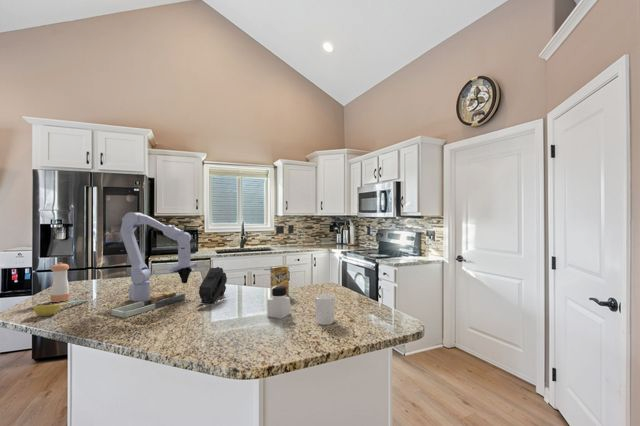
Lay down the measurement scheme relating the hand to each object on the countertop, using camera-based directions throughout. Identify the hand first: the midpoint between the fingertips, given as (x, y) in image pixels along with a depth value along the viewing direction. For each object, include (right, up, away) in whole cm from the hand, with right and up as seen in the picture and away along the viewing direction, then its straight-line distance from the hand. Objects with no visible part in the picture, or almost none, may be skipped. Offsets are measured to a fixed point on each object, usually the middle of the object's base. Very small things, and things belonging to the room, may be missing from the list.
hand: (184, 283), depth 154 cm
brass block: (-4, -7, -8) cm, 11 cm away
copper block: (-7, -7, -13) cm, 17 cm away
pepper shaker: (-61, -9, -2) cm, 62 cm away
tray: (-12, -8, -23) cm, 27 cm away
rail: (-5, -8, -10) cm, 14 cm away
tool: (+16, -8, -4) cm, 18 cm away
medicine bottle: (+52, -8, -27) cm, 59 cm away
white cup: (+71, -7, -35) cm, 79 cm away
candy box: (+48, -8, +4) cm, 49 cm away
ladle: (-47, -9, -16) cm, 51 cm away
